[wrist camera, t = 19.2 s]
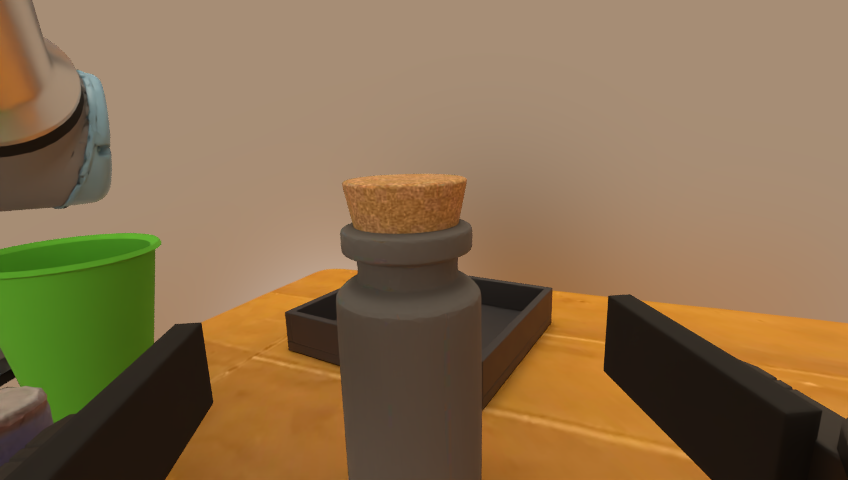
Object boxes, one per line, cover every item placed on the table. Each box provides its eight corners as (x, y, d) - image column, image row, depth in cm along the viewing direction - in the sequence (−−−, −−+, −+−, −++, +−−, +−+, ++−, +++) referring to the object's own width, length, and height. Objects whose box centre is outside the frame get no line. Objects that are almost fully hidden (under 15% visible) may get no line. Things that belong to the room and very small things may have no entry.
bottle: (497, 559, 18) (502, 182, 14) (349, 580, 17) (318, 189, 14) (465, 458, 23) (463, 170, 20) (353, 470, 23) (332, 175, 19)
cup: (202, 428, 26) (174, 249, 24) (-6, 508, 21) (-71, 287, 18) (173, 370, 33) (149, 227, 31) (11, 419, 28) (-34, 249, 25)
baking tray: (288, 349, 36) (284, 311, 35) (394, 293, 49) (393, 264, 48) (482, 410, 27) (482, 361, 27) (551, 322, 40) (552, 287, 39)
